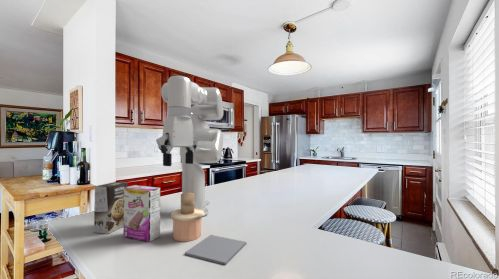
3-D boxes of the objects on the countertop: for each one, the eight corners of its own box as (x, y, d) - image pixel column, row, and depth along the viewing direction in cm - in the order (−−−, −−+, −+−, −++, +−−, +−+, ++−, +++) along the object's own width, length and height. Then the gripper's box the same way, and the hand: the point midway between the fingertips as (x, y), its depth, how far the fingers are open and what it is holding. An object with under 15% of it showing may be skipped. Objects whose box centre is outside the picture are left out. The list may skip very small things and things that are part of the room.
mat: (210, 236, 75) (210, 234, 75) (246, 243, 70) (246, 241, 70) (184, 254, 63) (184, 252, 63) (225, 264, 58) (225, 262, 58)
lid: (185, 209, 83) (185, 189, 83) (209, 212, 78) (209, 192, 78) (163, 218, 73) (163, 196, 73) (190, 222, 69) (190, 199, 69)
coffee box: (109, 234, 76) (109, 186, 77) (93, 232, 78) (93, 185, 78) (128, 224, 85) (129, 181, 85) (114, 223, 87) (114, 181, 87)
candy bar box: (122, 237, 74) (122, 187, 74) (134, 232, 78) (134, 184, 79) (149, 243, 70) (149, 190, 70) (160, 236, 75) (161, 187, 75)
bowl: (185, 228, 81) (185, 209, 81) (206, 232, 78) (206, 213, 78) (167, 238, 73) (167, 217, 73) (189, 243, 70) (189, 221, 70)
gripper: (189, 117, 85) (189, 162, 85) (149, 111, 70) (149, 166, 70) (204, 116, 82) (204, 163, 81) (166, 109, 67) (165, 167, 66)
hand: (178, 164), depth 76 cm, fingers open, 9 cm apart
